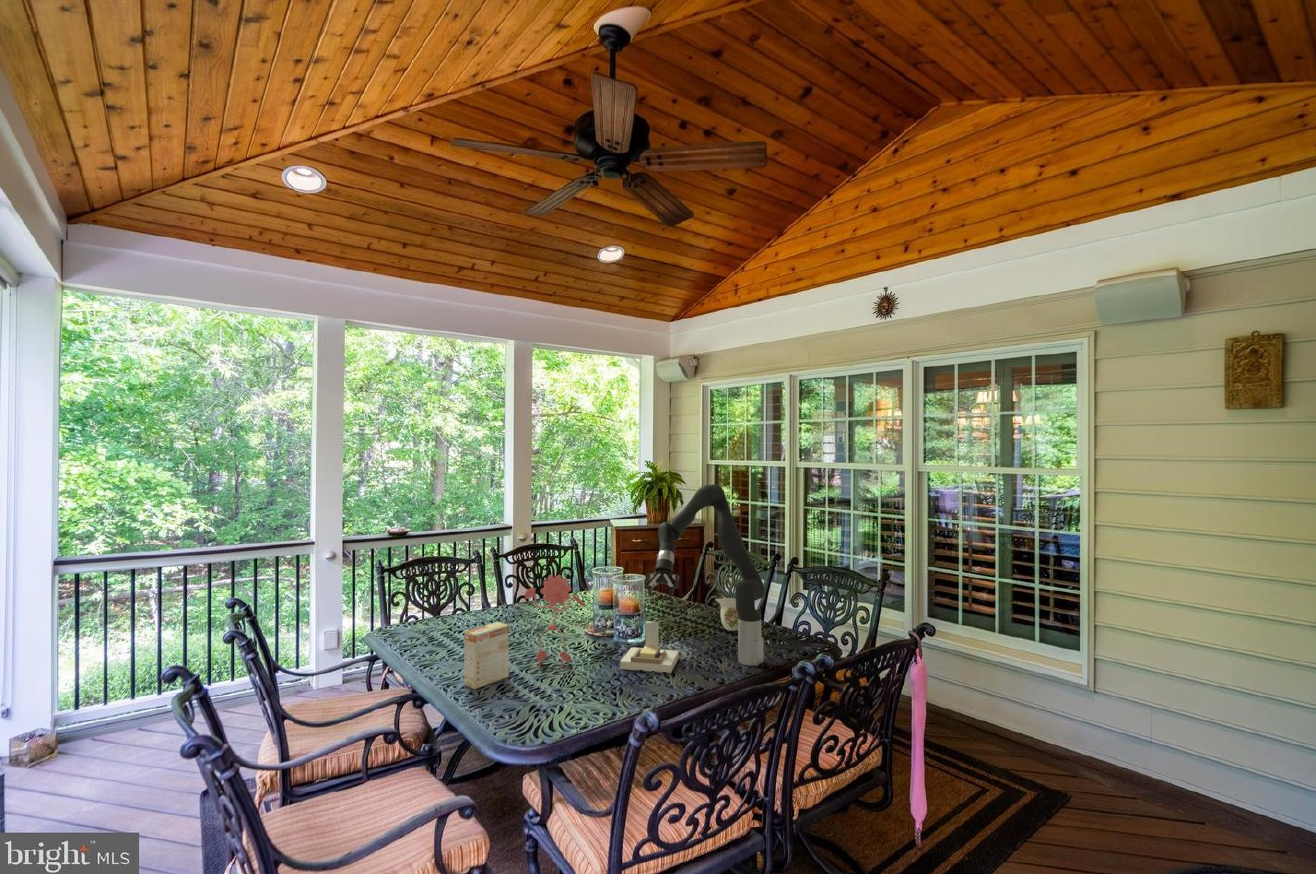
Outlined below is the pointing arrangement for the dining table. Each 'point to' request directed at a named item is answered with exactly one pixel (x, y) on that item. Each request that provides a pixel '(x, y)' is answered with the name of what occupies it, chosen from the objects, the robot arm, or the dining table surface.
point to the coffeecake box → (486, 655)
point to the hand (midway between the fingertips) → (659, 596)
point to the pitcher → (729, 613)
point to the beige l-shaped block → (651, 641)
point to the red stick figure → (554, 593)
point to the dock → (650, 661)
